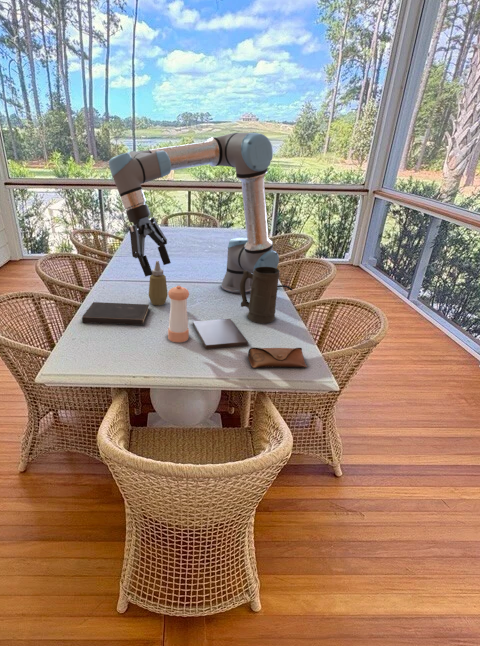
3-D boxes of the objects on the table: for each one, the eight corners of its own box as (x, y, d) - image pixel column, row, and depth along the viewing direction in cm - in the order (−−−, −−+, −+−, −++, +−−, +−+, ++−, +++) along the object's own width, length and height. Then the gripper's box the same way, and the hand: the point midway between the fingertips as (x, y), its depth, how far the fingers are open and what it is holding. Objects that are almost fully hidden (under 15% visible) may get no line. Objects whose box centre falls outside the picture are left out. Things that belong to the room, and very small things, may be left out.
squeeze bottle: (164, 307, 164) (164, 264, 155) (146, 305, 165) (144, 263, 156) (169, 300, 171) (169, 259, 162) (151, 299, 172) (150, 257, 163)
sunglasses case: (252, 368, 122) (252, 346, 122) (247, 368, 129) (247, 347, 129) (309, 367, 123) (309, 346, 123) (301, 367, 130) (301, 347, 130)
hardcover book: (93, 307, 162) (93, 302, 161) (149, 309, 162) (149, 304, 160) (82, 323, 149) (81, 317, 147) (143, 325, 148) (142, 320, 147)
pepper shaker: (189, 334, 143) (190, 283, 133) (187, 343, 137) (188, 290, 127) (169, 332, 143) (169, 281, 134) (166, 341, 137) (166, 288, 127)
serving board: (230, 322, 153) (230, 318, 152) (247, 345, 136) (248, 341, 136) (192, 324, 150) (192, 321, 149) (205, 349, 133) (206, 345, 132)
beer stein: (278, 315, 160) (282, 266, 150) (274, 325, 151) (277, 274, 141) (241, 312, 165) (242, 264, 155) (235, 321, 156) (236, 271, 146)
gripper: (145, 204, 140) (165, 261, 148) (105, 217, 121) (131, 283, 129) (162, 197, 137) (182, 257, 145) (124, 210, 117) (150, 278, 125)
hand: (158, 269), depth 137 cm, fingers open, 13 cm apart
